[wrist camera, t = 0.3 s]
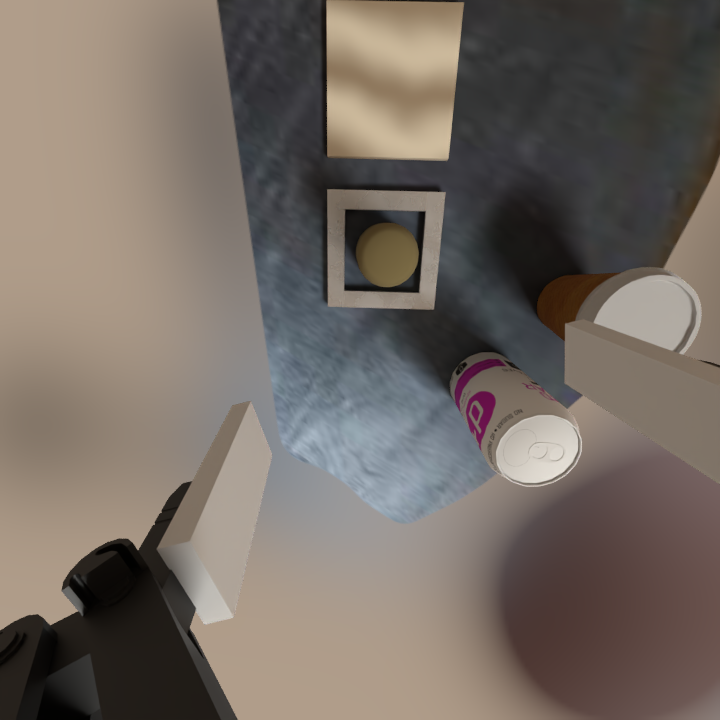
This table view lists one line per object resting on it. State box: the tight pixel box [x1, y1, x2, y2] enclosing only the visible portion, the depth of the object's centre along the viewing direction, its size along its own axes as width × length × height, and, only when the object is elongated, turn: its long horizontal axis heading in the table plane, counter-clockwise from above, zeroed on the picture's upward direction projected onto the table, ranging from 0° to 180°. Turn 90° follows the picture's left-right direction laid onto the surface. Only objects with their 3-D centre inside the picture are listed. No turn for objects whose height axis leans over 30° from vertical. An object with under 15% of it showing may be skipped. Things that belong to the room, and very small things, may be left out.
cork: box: [356, 223, 419, 287], centre depth 32 cm, size 6×6×11 cm
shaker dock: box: [327, 189, 445, 310], centre depth 37 cm, size 12×12×1 cm
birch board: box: [327, 0, 464, 161], centre depth 32 cm, size 12×12×1 cm
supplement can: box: [450, 352, 582, 486], centre depth 35 cm, size 8×8×15 cm
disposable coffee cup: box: [537, 267, 701, 355], centre depth 33 cm, size 10×10×12 cm
